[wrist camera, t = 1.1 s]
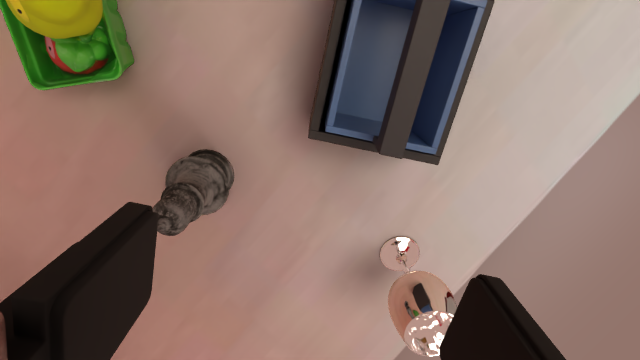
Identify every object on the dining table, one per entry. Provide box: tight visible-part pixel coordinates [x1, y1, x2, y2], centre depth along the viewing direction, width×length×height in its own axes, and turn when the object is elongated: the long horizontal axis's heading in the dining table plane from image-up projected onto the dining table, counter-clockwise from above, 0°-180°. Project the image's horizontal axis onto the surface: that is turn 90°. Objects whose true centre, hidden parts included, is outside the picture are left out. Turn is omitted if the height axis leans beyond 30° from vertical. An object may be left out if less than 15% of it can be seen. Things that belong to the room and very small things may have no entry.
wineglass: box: [380, 236, 457, 356], centre depth 34 cm, size 6×6×12 cm
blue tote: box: [323, 0, 487, 159], centre depth 27 cm, size 11×9×12 cm
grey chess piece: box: [152, 149, 234, 236], centre depth 30 cm, size 6×6×12 cm
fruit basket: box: [0, 0, 134, 90], centre depth 26 cm, size 11×9×11 cm
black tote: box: [308, 0, 494, 165], centre depth 29 cm, size 13×11×7 cm
